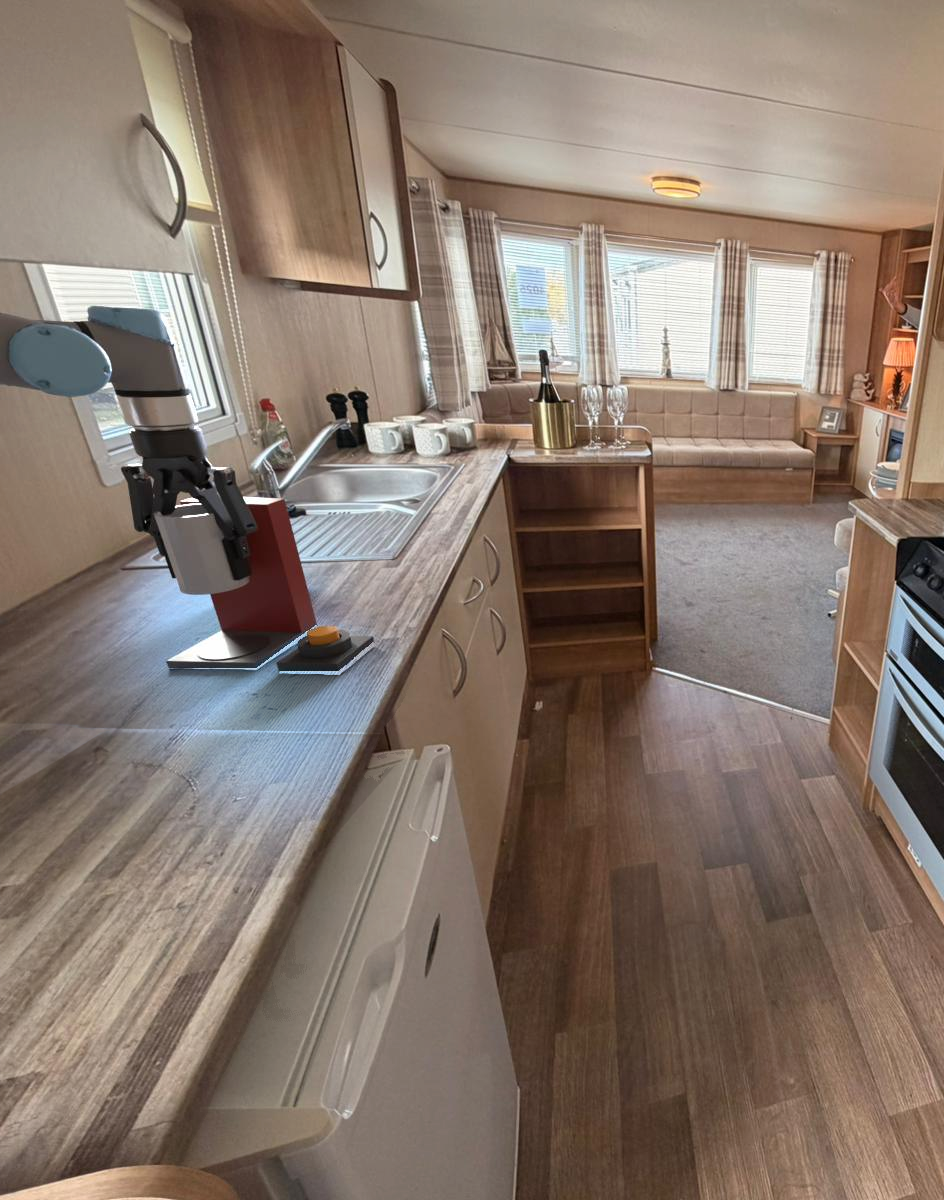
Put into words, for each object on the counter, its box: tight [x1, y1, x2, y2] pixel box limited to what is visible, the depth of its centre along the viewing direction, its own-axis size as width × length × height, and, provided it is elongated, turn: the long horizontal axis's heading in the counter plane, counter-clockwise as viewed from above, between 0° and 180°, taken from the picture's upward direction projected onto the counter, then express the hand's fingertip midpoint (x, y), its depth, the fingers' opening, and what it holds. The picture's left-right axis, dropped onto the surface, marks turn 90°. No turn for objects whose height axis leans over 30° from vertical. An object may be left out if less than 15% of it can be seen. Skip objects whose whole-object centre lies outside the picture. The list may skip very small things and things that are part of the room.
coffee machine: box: [165, 496, 318, 669], centre depth 101 cm, size 15×13×24 cm
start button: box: [307, 625, 340, 645], centre depth 102 cm, size 4×4×2 cm
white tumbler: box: [153, 504, 250, 596], centre depth 97 cm, size 8×8×12 cm
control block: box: [275, 629, 375, 672], centre depth 103 cm, size 10×9×4 cm
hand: (212, 576), depth 98 cm, fingers closed on white tumbler, 8 cm apart
